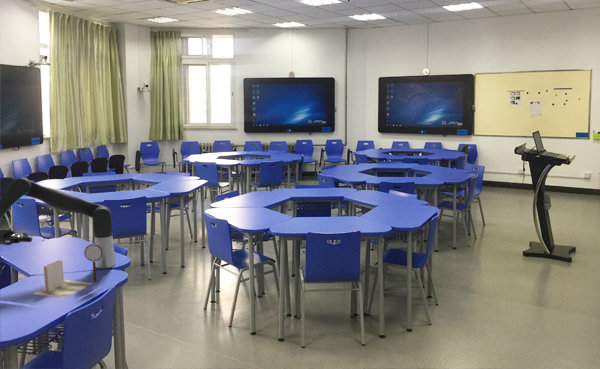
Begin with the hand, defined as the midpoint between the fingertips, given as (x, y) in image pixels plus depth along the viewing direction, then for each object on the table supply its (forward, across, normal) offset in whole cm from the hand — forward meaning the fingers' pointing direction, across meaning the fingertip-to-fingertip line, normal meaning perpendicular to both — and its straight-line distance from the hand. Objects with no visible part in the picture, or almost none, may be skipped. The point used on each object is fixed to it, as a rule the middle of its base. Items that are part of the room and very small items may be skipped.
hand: (30, 239), depth 252 cm
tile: (+12, 0, +23) cm, 26 cm away
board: (+17, 0, +24) cm, 29 cm away
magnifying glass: (+25, +13, +24) cm, 37 cm away
